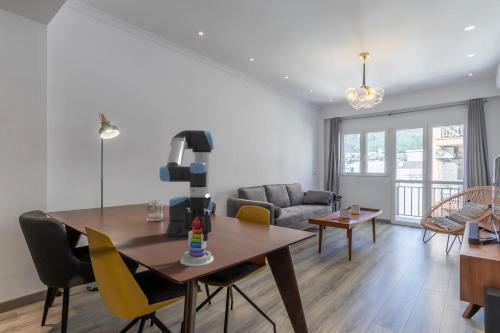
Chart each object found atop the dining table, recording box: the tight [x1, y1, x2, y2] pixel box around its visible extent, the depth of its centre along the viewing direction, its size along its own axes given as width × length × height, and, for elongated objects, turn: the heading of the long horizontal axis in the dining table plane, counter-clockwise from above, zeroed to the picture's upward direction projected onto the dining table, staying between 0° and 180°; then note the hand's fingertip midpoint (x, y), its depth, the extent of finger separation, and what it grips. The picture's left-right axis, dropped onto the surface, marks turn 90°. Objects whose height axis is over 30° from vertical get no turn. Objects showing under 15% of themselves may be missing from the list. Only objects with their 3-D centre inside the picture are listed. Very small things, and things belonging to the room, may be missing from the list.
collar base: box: [179, 250, 215, 267], centre depth 121 cm, size 15×15×3 cm
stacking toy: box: [188, 217, 207, 258], centre depth 121 cm, size 8×8×19 cm
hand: (197, 246), depth 120 cm, fingers closed on stacking toy, 7 cm apart
